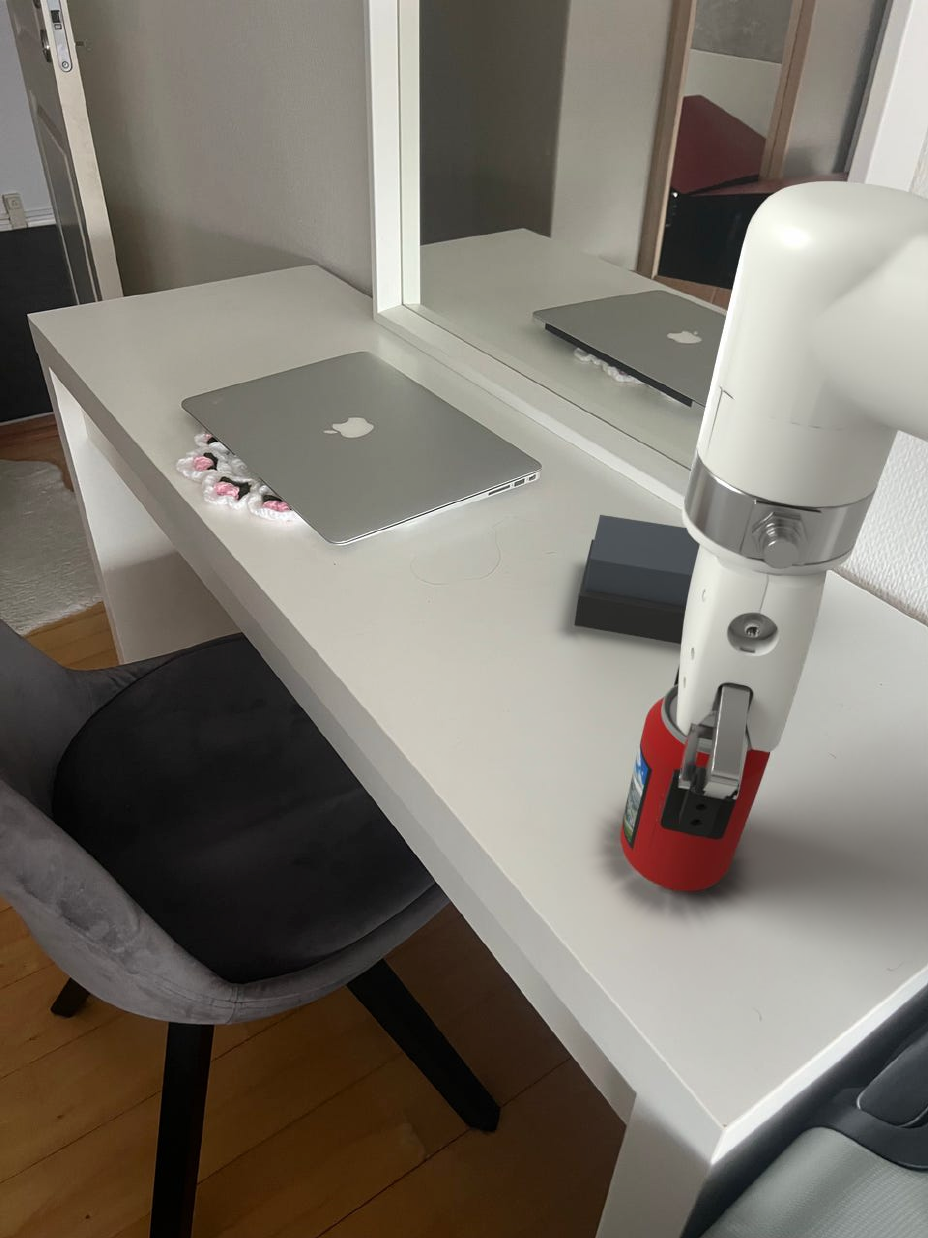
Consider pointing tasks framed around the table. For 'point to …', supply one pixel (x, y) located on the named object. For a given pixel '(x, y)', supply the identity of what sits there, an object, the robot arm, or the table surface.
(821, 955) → the table surface
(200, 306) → the table surface
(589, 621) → the pad base
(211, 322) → the table surface
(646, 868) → the beverage can
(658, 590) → the pad top
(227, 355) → the table surface
